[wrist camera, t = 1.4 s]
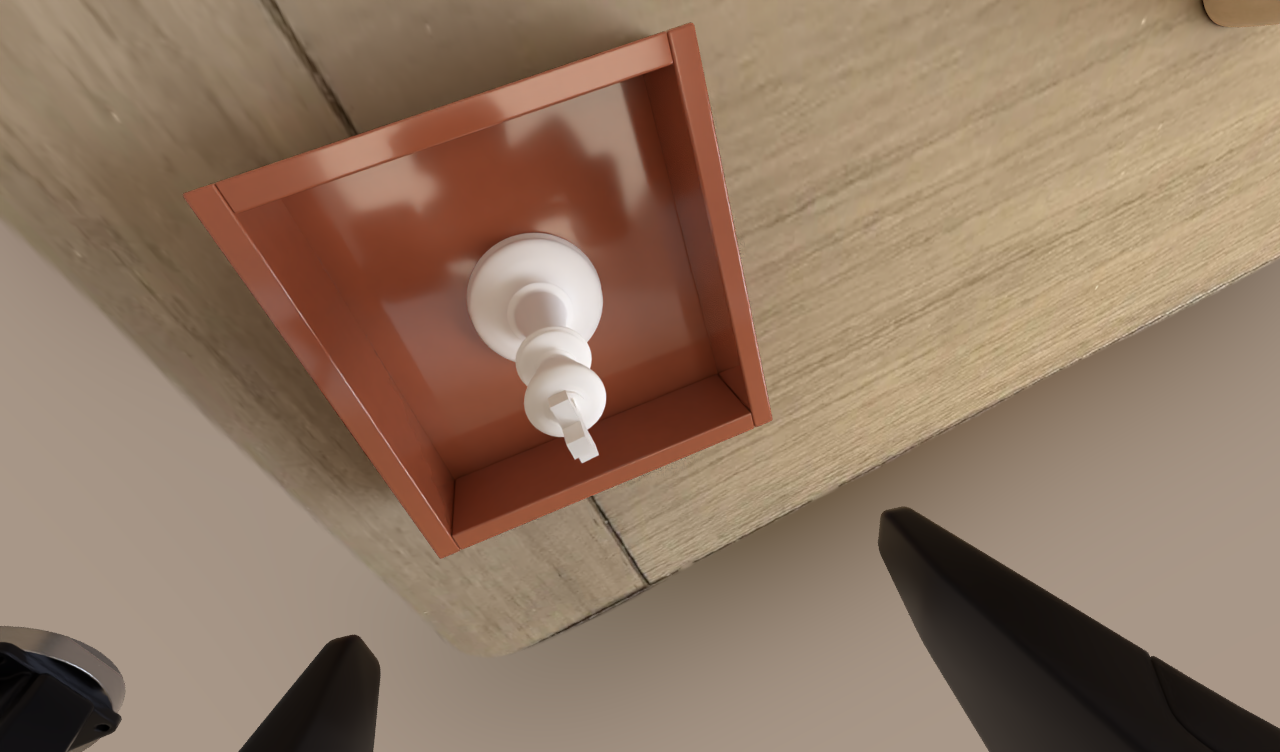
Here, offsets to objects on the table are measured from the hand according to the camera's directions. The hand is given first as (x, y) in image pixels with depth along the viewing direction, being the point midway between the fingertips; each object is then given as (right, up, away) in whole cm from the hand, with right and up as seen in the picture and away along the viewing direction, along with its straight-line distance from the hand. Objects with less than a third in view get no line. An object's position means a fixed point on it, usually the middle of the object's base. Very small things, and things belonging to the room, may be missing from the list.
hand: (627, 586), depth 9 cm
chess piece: (-4, +6, +11) cm, 13 cm away
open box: (-4, +7, +11) cm, 14 cm away
